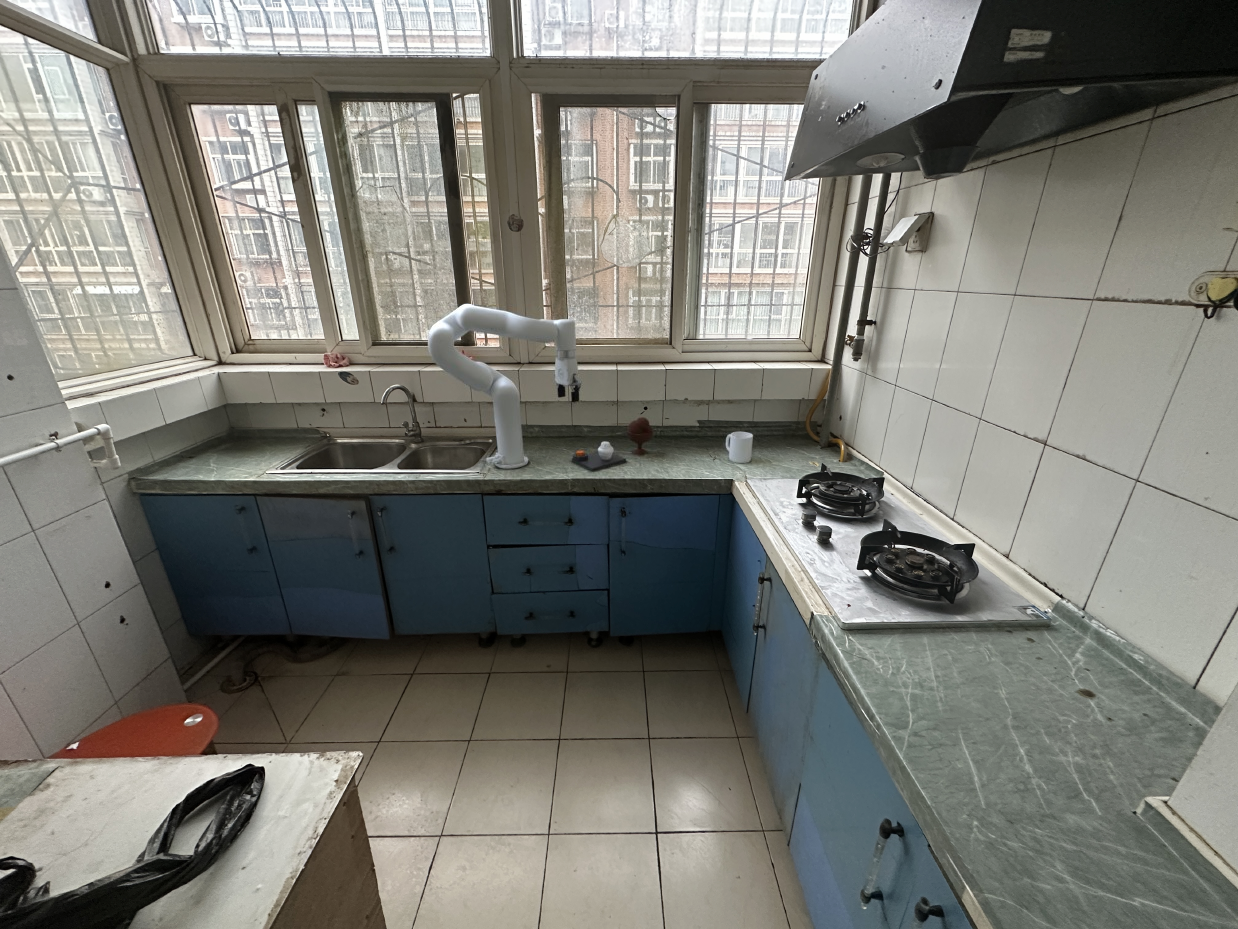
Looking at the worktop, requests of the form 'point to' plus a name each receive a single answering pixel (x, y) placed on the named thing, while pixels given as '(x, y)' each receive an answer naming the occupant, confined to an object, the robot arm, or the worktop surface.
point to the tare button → (580, 453)
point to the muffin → (605, 450)
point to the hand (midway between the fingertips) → (568, 399)
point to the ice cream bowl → (639, 433)
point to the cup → (739, 446)
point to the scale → (596, 461)
